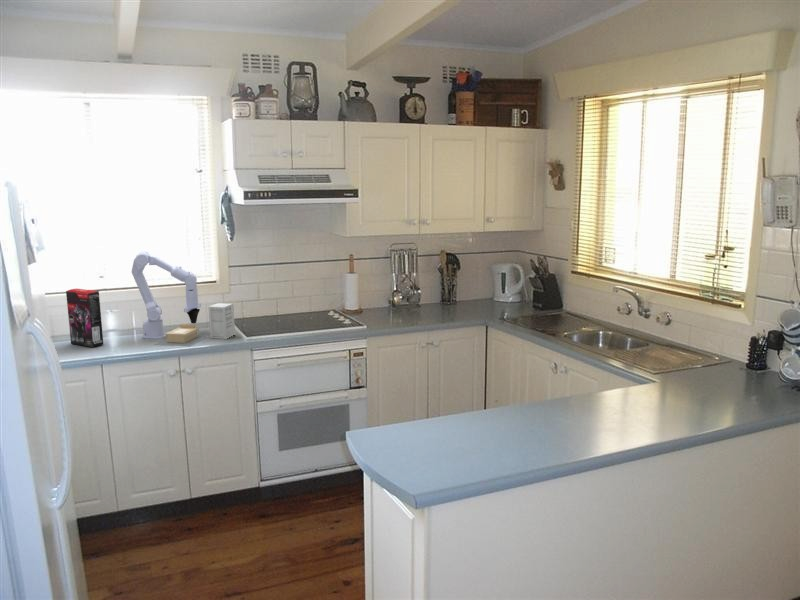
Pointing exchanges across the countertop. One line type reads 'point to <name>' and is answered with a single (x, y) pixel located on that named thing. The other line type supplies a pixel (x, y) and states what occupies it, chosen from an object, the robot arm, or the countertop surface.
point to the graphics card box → (84, 317)
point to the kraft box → (181, 338)
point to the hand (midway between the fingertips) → (193, 323)
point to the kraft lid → (183, 330)
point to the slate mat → (189, 343)
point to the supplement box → (221, 320)
